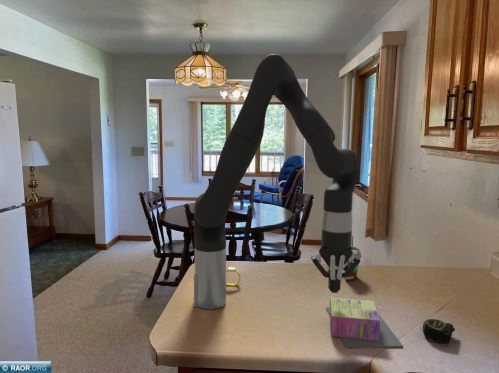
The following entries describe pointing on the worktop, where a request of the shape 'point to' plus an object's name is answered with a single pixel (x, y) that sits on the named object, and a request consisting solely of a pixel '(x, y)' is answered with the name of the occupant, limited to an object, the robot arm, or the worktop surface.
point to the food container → (354, 272)
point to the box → (354, 319)
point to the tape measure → (438, 330)
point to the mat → (385, 340)
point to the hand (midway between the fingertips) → (334, 291)
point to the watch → (233, 271)
